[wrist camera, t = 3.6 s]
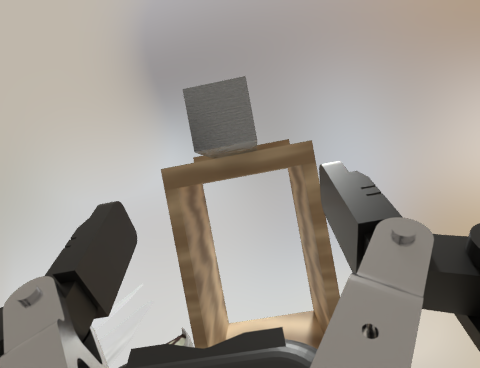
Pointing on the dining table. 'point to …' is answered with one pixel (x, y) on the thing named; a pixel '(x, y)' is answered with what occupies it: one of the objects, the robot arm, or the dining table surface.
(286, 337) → the shelf stand
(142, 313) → the dining table surface
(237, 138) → the bar
